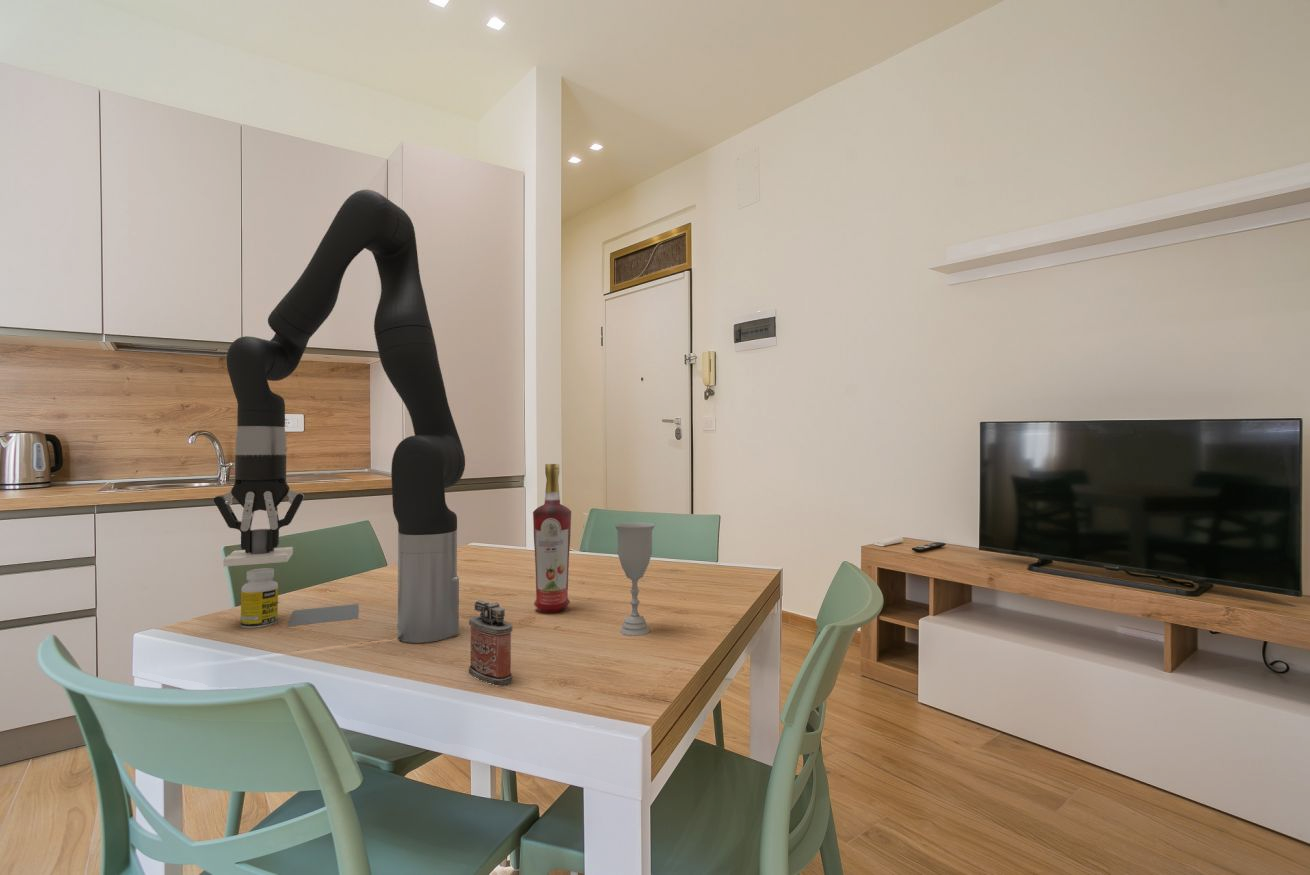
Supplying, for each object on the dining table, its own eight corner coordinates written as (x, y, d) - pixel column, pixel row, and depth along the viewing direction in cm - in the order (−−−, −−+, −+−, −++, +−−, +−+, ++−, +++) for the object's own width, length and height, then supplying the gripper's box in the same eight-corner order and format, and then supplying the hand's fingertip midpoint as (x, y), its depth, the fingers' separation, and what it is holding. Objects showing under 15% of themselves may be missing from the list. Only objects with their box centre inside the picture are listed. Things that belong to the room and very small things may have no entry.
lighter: (518, 680, 80) (518, 606, 80) (496, 688, 78) (496, 611, 78) (484, 666, 85) (484, 596, 86) (463, 672, 83) (463, 600, 83)
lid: (292, 553, 111) (293, 525, 111) (287, 561, 103) (287, 531, 103) (234, 557, 107) (234, 528, 107) (223, 566, 99) (223, 534, 99)
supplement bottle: (264, 631, 102) (264, 573, 102) (232, 631, 102) (233, 573, 102) (284, 621, 107) (285, 567, 107) (254, 621, 107) (255, 566, 107)
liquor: (572, 604, 119) (572, 463, 119) (569, 614, 112) (570, 464, 112) (535, 605, 118) (535, 463, 119) (530, 615, 111) (530, 464, 112)
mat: (358, 606, 117) (358, 603, 117) (358, 621, 107) (358, 618, 107) (293, 613, 112) (293, 610, 112) (286, 629, 102) (286, 626, 102)
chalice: (646, 639, 97) (646, 528, 98) (607, 635, 99) (608, 526, 100) (660, 626, 104) (660, 523, 104) (624, 622, 106) (624, 521, 107)
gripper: (207, 453, 98) (206, 558, 98) (305, 452, 105) (304, 551, 104) (217, 452, 105) (216, 551, 105) (309, 452, 111) (308, 545, 111)
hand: (260, 551), depth 105 cm, fingers closed on lid, 2 cm apart
